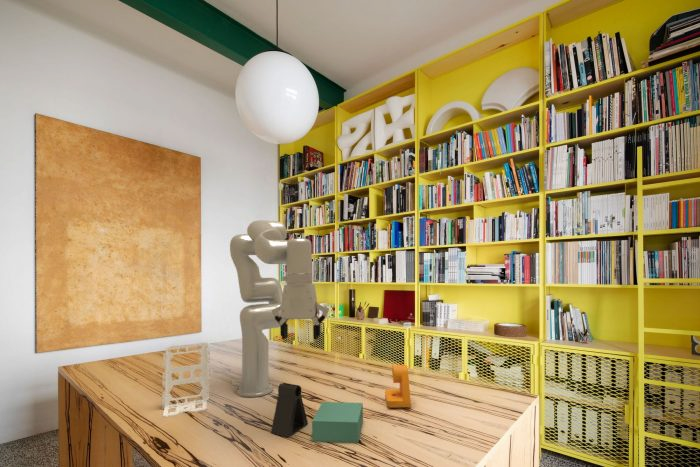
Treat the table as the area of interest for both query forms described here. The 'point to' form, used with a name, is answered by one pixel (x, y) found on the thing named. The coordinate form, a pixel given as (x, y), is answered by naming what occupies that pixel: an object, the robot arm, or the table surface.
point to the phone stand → (289, 411)
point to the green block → (338, 422)
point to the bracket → (399, 395)
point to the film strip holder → (185, 380)
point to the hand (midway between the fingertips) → (300, 338)
